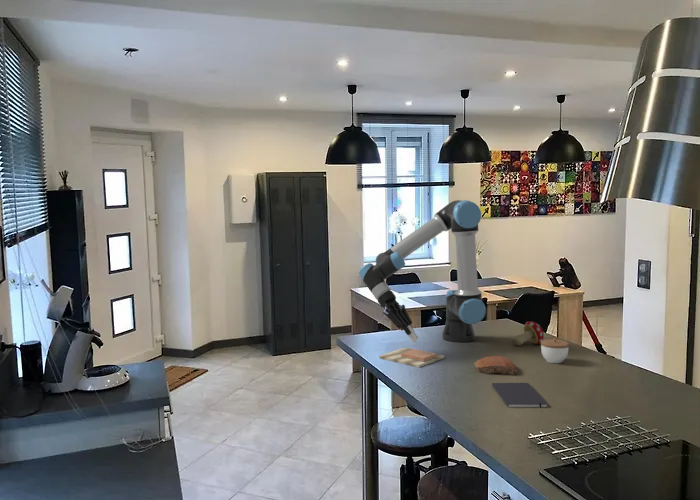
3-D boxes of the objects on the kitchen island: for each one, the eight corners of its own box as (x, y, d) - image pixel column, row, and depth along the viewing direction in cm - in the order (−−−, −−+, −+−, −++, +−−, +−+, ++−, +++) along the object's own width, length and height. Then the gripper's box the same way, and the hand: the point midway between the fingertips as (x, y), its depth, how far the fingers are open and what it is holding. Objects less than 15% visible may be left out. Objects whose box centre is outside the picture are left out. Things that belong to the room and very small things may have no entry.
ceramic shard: (471, 351, 234) (509, 356, 234) (469, 367, 234) (506, 372, 234) (479, 356, 220) (519, 362, 219) (476, 373, 219) (516, 379, 219)
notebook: (492, 387, 207) (507, 409, 186) (492, 382, 207) (508, 404, 186) (528, 387, 207) (548, 408, 186) (528, 382, 207) (548, 403, 186)
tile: (401, 353, 240) (423, 358, 233) (414, 349, 247) (436, 353, 240) (401, 357, 241) (423, 362, 233) (414, 352, 247) (436, 357, 240)
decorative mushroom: (510, 328, 259) (538, 314, 263) (503, 335, 269) (529, 322, 273) (525, 350, 255) (552, 335, 259) (516, 357, 265) (543, 343, 269)
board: (378, 358, 243) (378, 355, 243) (405, 349, 256) (405, 347, 256) (418, 367, 229) (418, 364, 229) (444, 358, 243) (444, 355, 243)
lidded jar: (564, 357, 242) (565, 335, 242) (571, 365, 232) (572, 341, 231) (537, 357, 243) (538, 335, 243) (543, 364, 233) (544, 341, 232)
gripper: (388, 298, 257) (419, 342, 247) (369, 302, 247) (401, 348, 238) (398, 288, 253) (430, 332, 243) (379, 291, 243) (411, 337, 234)
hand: (415, 340), depth 241 cm, fingers closed
